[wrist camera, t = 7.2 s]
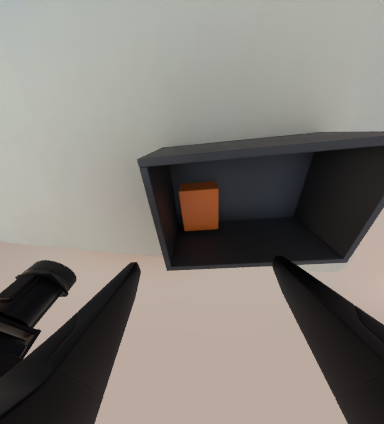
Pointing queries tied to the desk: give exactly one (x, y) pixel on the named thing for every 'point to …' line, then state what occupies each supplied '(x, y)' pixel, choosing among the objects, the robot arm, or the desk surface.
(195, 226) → the block
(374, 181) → the bin
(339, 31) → the desk surface
